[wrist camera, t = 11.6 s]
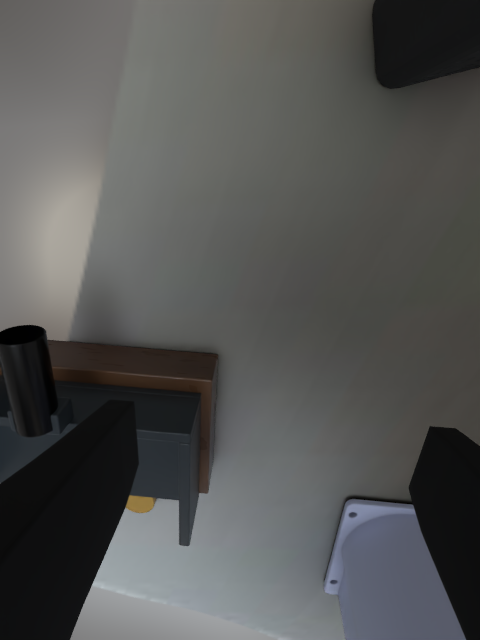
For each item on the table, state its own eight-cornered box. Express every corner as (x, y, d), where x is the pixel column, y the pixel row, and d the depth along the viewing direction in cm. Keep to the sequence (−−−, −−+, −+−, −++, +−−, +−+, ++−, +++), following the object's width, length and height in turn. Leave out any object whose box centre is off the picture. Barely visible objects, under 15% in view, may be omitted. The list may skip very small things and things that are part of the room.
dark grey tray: (198, 496, 20) (184, 573, 17) (-12, 475, 21) (-73, 547, 17) (203, 311, 16) (184, 360, 12) (-68, 288, 16) (-169, 330, 12)
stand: (213, 460, 23) (207, 494, 20) (8, 440, 23) (-20, 472, 21) (218, 353, 20) (212, 380, 17) (-21, 333, 20) (-57, 356, 18)
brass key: (149, 518, 24) (151, 510, 25) (157, 495, 23) (160, 487, 24) (66, 492, 24) (71, 484, 25) (71, 467, 23) (76, 460, 24)
